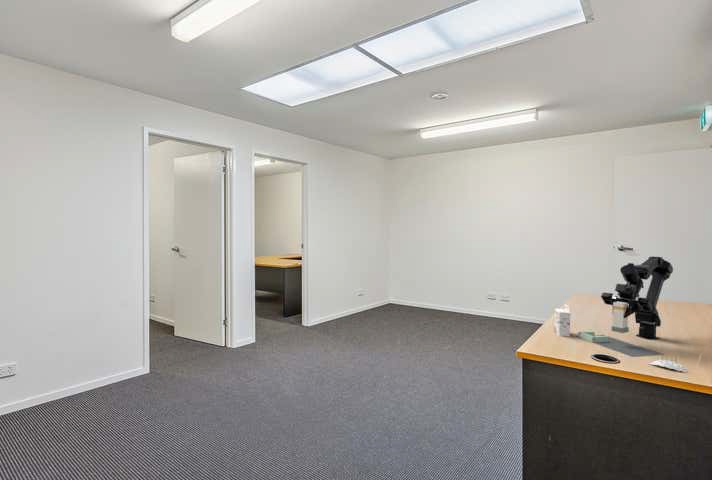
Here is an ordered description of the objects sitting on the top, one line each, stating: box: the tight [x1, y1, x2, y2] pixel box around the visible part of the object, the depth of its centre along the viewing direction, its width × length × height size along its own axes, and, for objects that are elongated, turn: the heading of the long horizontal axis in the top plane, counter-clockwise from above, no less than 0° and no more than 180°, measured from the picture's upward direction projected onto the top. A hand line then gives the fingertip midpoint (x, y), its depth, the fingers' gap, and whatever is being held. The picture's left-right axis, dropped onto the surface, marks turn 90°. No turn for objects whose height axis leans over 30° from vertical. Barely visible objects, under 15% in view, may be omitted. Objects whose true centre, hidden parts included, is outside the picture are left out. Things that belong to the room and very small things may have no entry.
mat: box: [574, 334, 665, 358], centre depth 172 cm, size 16×30×1 cm, turn 13°
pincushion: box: [648, 353, 689, 374], centre depth 144 cm, size 12×6×6 cm, turn 36°
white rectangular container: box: [611, 302, 629, 334], centre depth 171 cm, size 5×5×12 cm
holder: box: [577, 330, 610, 344], centre depth 180 cm, size 9×9×2 cm
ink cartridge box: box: [553, 303, 571, 337], centre depth 189 cm, size 9×5×15 cm, turn 168°
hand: (618, 316), depth 171 cm, fingers closed on white rectangular container, 4 cm apart
